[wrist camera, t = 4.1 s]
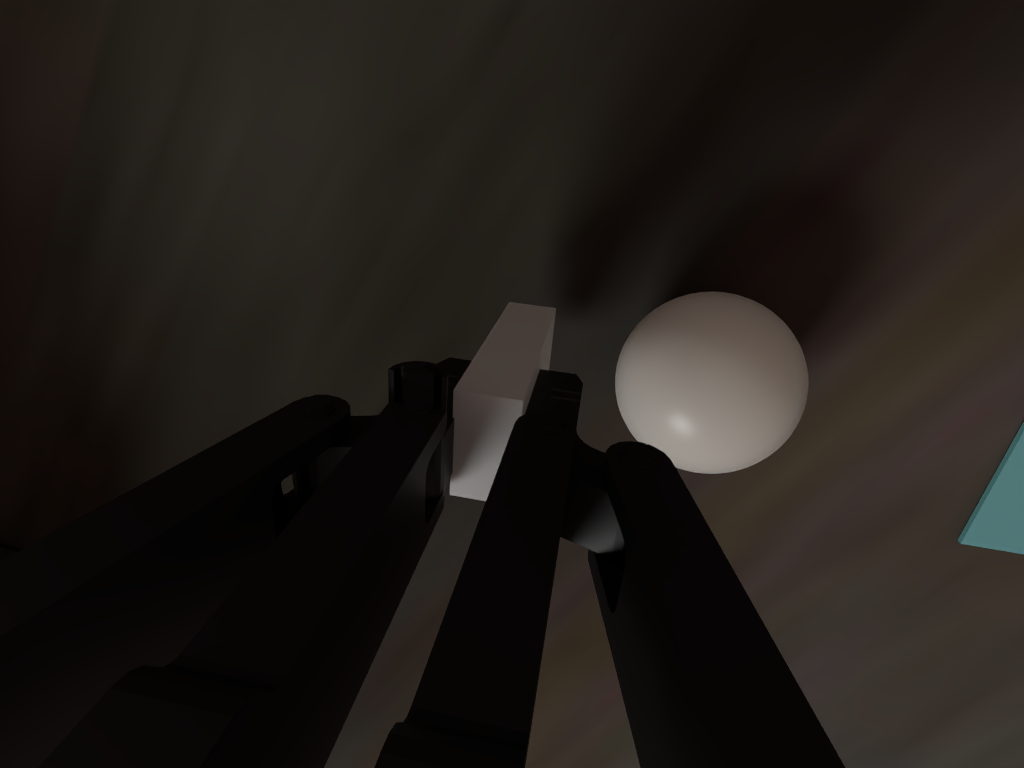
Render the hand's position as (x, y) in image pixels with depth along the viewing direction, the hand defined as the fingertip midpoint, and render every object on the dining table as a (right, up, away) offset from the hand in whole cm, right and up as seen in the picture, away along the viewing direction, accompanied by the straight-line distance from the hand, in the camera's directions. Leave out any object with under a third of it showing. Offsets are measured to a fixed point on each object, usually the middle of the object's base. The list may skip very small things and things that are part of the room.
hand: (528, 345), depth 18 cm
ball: (+5, -1, -1) cm, 6 cm away
